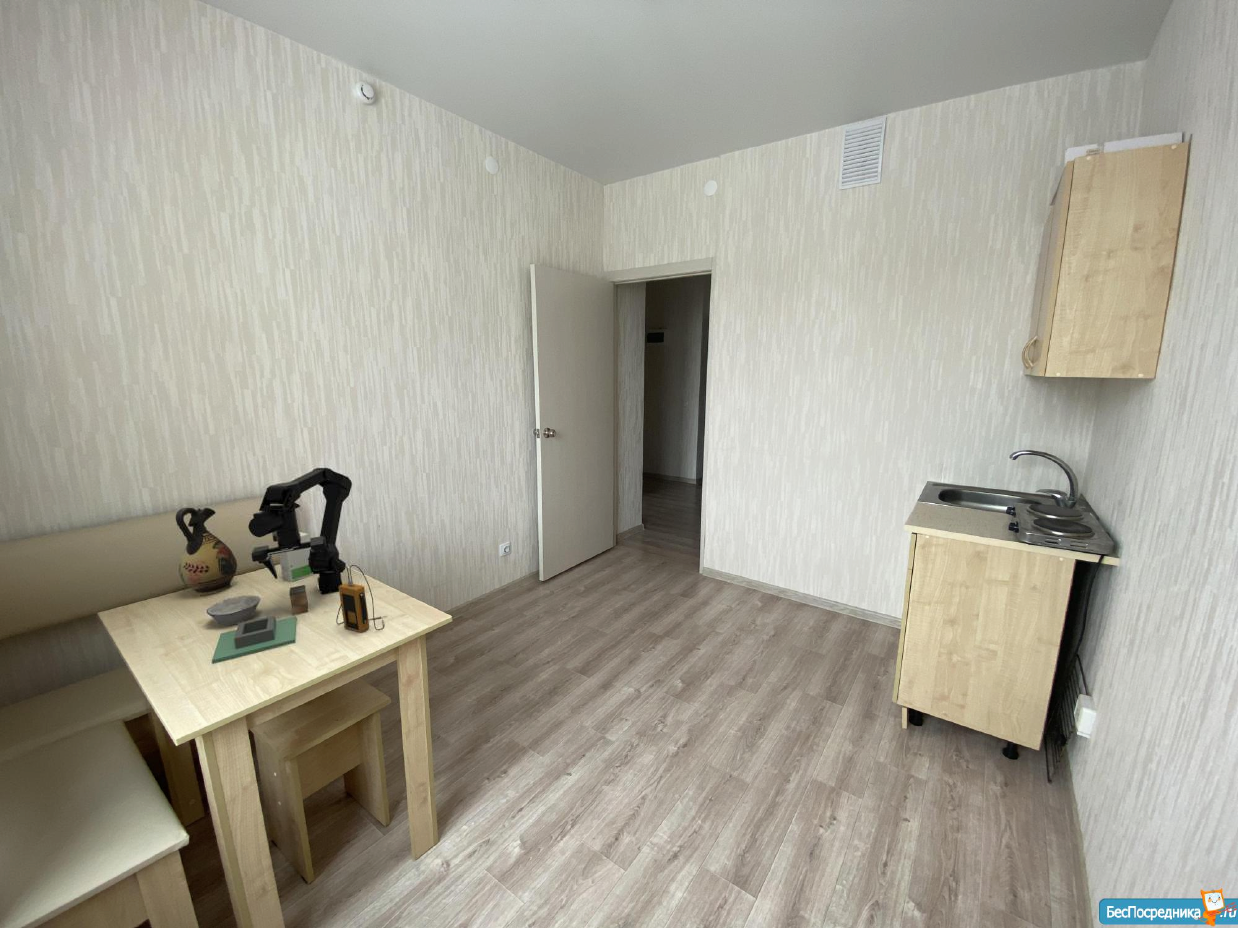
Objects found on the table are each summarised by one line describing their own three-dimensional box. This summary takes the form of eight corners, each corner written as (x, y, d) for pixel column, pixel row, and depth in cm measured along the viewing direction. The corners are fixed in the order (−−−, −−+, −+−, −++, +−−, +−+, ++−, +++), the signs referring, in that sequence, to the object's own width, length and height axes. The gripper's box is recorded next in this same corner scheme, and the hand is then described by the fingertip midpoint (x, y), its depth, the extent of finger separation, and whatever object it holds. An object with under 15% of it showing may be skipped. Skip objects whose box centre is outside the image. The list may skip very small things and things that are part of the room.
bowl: (198, 627, 150) (194, 611, 149) (239, 607, 162) (236, 593, 161) (232, 631, 147) (230, 615, 146) (272, 610, 159) (269, 596, 158)
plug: (308, 605, 162) (304, 584, 161) (308, 612, 157) (304, 590, 156) (293, 608, 160) (289, 587, 159) (292, 615, 155) (289, 594, 154)
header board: (296, 618, 153) (294, 606, 152) (295, 642, 139) (293, 629, 139) (221, 636, 144) (218, 623, 143) (212, 663, 130) (209, 649, 130)
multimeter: (399, 619, 151) (391, 555, 147) (371, 635, 142) (361, 567, 138) (364, 610, 157) (356, 548, 153) (335, 626, 148) (325, 560, 144)
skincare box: (290, 582, 180) (283, 540, 177) (281, 579, 183) (274, 537, 180) (315, 574, 187) (308, 533, 184) (305, 570, 190) (299, 530, 187)
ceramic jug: (213, 579, 185) (197, 499, 179) (251, 580, 183) (236, 499, 177) (166, 601, 168) (147, 513, 163) (207, 602, 166) (189, 513, 160)
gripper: (321, 514, 165) (328, 560, 168) (251, 524, 156) (260, 573, 159) (322, 522, 155) (329, 571, 158) (247, 534, 146) (256, 585, 149)
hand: (294, 574), depth 156 cm, fingers open, 9 cm apart
